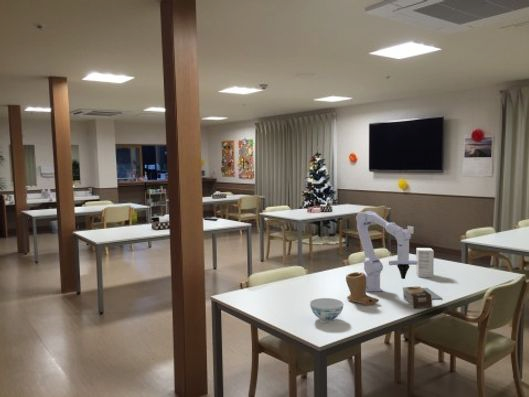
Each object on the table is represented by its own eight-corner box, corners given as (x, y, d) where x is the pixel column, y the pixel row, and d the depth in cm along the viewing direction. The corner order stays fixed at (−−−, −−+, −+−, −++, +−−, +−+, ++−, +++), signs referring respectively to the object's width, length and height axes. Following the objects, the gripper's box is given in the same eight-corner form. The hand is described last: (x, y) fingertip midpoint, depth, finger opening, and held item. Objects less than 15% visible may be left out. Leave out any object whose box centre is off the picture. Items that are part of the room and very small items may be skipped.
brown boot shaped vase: (341, 300, 224) (340, 271, 223) (358, 296, 230) (358, 268, 229) (362, 308, 211) (362, 278, 210) (379, 304, 217) (379, 274, 216)
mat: (421, 299, 223) (421, 298, 223) (407, 289, 243) (407, 288, 243) (442, 299, 223) (442, 298, 223) (426, 288, 243) (426, 287, 243)
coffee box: (419, 285, 225) (432, 294, 209) (420, 297, 225) (433, 307, 209) (402, 287, 225) (413, 296, 209) (403, 299, 225) (414, 309, 209)
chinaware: (309, 325, 190) (309, 307, 190) (310, 313, 205) (310, 297, 204) (344, 326, 188) (343, 308, 187) (343, 314, 202) (343, 298, 202)
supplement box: (433, 277, 266) (434, 250, 265) (418, 277, 268) (418, 250, 267) (431, 274, 276) (431, 247, 274) (415, 273, 277) (416, 247, 276)
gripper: (391, 254, 222) (391, 280, 223) (419, 254, 223) (419, 280, 224) (387, 251, 229) (387, 277, 230) (414, 251, 230) (414, 276, 231)
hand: (403, 278), depth 228 cm, fingers closed
